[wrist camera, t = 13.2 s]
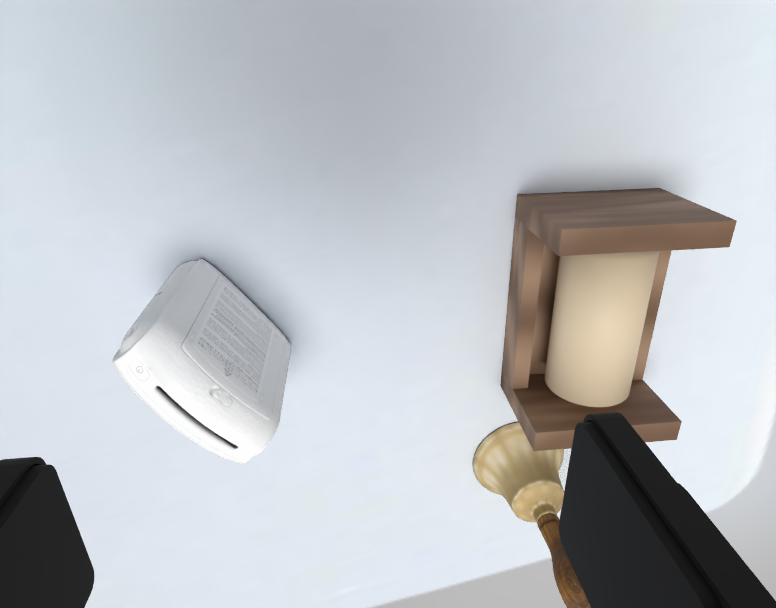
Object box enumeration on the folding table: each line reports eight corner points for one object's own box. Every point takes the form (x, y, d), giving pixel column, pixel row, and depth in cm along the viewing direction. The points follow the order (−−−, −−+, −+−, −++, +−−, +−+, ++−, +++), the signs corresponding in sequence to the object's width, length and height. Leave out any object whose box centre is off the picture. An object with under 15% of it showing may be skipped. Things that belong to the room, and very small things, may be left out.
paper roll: (548, 230, 37) (587, 260, 32) (628, 225, 38) (680, 254, 32) (532, 365, 42) (564, 411, 37) (604, 359, 43) (646, 404, 37)
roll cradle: (517, 194, 37) (561, 229, 30) (659, 188, 38) (736, 220, 31) (500, 385, 44) (533, 451, 37) (621, 376, 45) (676, 439, 38)
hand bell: (581, 438, 47) (688, 606, 33) (529, 502, 50) (608, 683, 36) (504, 407, 45) (585, 575, 31) (455, 476, 48) (508, 659, 34)
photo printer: (155, 282, 37) (80, 381, 26) (198, 245, 36) (140, 331, 25) (258, 375, 41) (232, 494, 30) (300, 344, 41) (288, 455, 29)
